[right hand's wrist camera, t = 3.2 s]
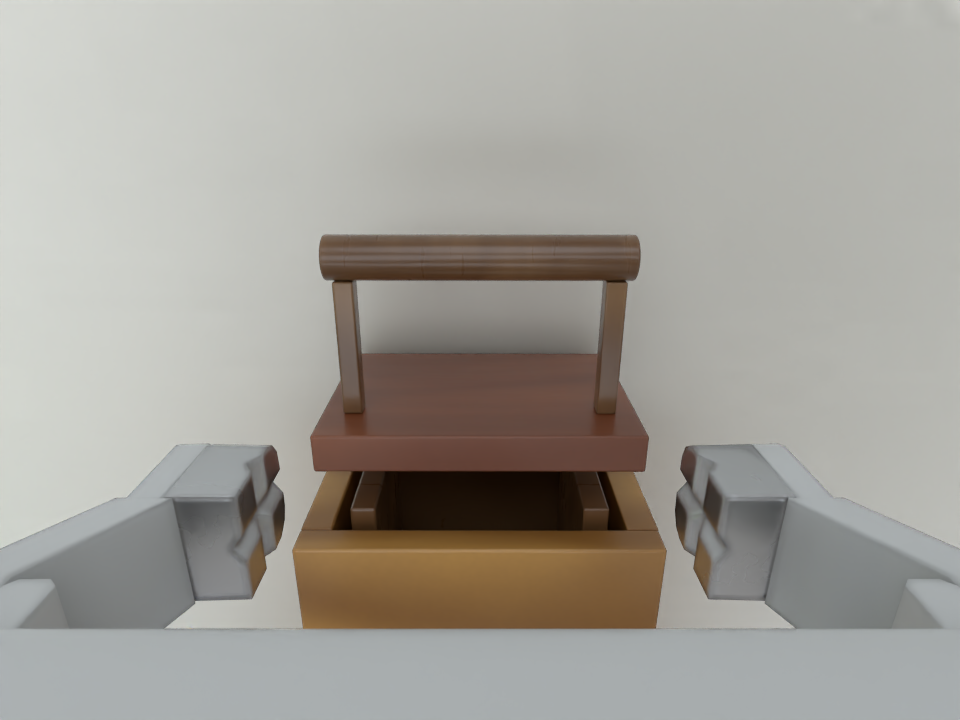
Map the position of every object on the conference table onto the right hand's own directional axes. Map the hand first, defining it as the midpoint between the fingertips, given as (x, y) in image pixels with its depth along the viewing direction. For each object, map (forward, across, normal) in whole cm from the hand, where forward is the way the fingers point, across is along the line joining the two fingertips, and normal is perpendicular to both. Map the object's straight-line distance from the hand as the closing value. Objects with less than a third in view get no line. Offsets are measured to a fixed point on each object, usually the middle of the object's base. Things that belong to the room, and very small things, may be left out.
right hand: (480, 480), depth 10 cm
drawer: (+13, 0, -8) cm, 16 cm away
